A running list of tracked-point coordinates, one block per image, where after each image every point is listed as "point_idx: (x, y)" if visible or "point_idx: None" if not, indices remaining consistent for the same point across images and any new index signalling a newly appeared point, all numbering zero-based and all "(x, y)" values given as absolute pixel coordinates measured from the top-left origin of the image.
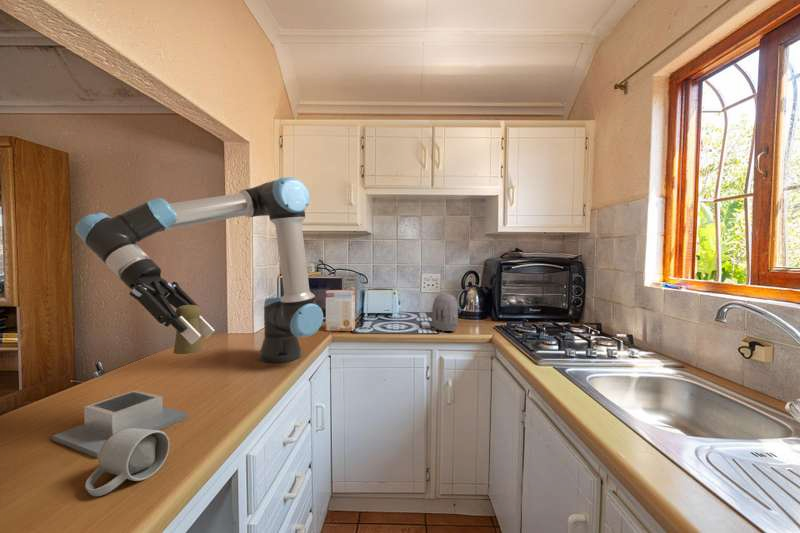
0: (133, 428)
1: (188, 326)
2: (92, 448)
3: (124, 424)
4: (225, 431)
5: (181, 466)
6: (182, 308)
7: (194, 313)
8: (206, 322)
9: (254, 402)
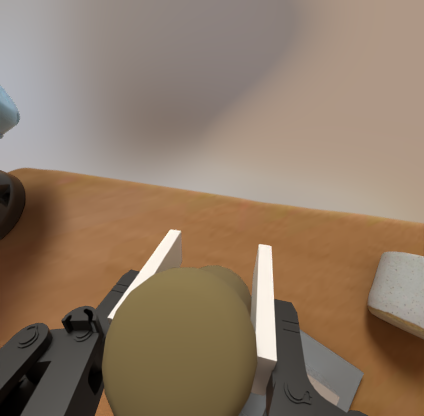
0: (420, 308)
1: (272, 293)
2: (350, 392)
3: (309, 369)
4: (287, 214)
5: (374, 237)
6: (243, 378)
7: (227, 284)
8: (153, 258)
9: (197, 202)
